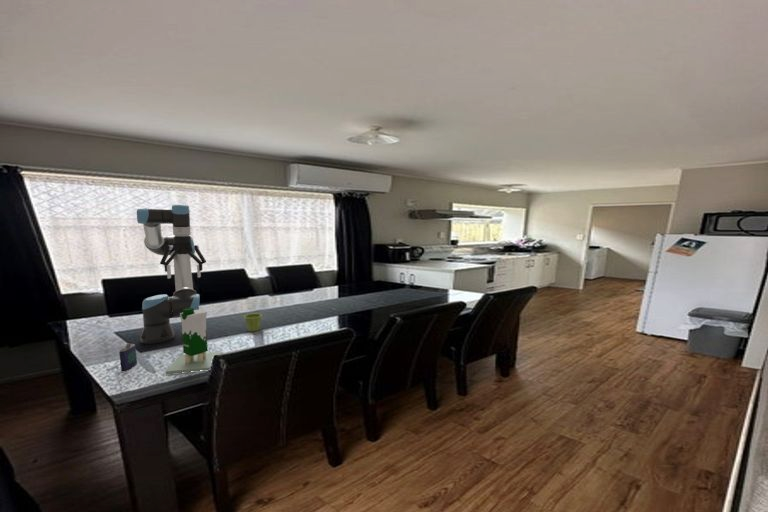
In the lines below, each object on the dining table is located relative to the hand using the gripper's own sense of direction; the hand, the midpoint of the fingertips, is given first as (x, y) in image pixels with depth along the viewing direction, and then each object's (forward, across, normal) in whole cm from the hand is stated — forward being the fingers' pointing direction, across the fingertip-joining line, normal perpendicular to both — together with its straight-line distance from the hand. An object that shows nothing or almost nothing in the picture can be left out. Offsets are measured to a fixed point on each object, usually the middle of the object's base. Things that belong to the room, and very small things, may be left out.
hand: (184, 277), depth 172 cm
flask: (+35, -16, -25) cm, 46 cm away
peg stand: (+35, +11, -28) cm, 46 cm away
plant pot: (+35, +30, +16) cm, 49 cm away
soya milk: (+29, +11, -28) cm, 42 cm away
